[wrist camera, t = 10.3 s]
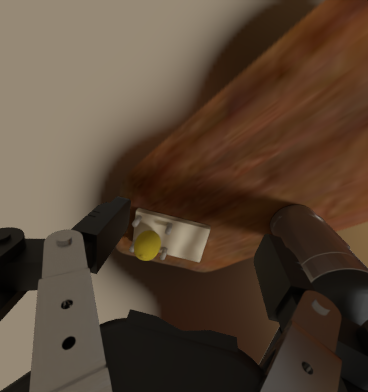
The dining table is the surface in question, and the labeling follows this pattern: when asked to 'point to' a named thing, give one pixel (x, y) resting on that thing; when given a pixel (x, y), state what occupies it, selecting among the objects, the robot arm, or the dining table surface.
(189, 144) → the dining table surface
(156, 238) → the lemon
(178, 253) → the peg board
